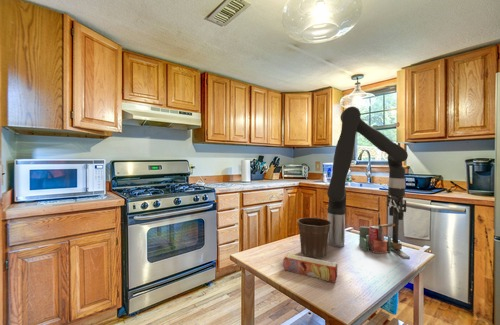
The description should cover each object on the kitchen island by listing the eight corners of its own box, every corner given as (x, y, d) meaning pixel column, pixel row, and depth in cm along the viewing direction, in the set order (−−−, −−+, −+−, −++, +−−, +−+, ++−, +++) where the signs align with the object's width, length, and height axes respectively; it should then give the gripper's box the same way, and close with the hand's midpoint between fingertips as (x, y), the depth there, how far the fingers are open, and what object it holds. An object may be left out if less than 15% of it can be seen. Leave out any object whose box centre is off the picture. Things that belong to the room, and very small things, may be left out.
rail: (403, 258, 113) (403, 256, 113) (387, 246, 128) (387, 244, 128) (409, 258, 113) (409, 256, 113) (393, 246, 128) (393, 244, 128)
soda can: (382, 248, 126) (382, 225, 125) (384, 253, 119) (385, 229, 119) (367, 246, 128) (367, 224, 128) (369, 250, 122) (369, 227, 121)
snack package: (282, 271, 98) (282, 255, 98) (287, 265, 104) (287, 250, 104) (335, 285, 88) (336, 267, 88) (338, 277, 94) (338, 260, 94)
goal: (366, 251, 121) (366, 232, 121) (359, 244, 130) (359, 226, 130) (390, 252, 120) (391, 233, 120) (381, 245, 129) (382, 227, 129)
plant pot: (290, 253, 117) (290, 221, 116) (306, 244, 129) (306, 215, 128) (321, 263, 106) (322, 228, 105) (335, 253, 118) (336, 221, 117)
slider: (374, 252, 118) (375, 209, 118) (367, 246, 127) (368, 205, 126) (405, 254, 117) (406, 210, 117) (396, 247, 126) (397, 206, 125)
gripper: (382, 185, 130) (381, 214, 130) (396, 188, 116) (395, 220, 116) (396, 185, 130) (395, 214, 130) (412, 188, 115) (411, 221, 116)
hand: (395, 217), depth 123 cm, fingers open, 8 cm apart
